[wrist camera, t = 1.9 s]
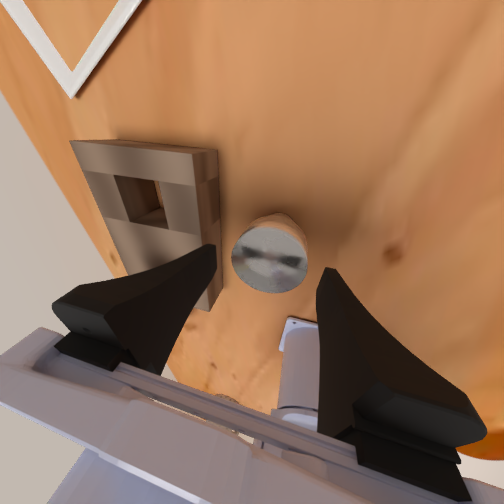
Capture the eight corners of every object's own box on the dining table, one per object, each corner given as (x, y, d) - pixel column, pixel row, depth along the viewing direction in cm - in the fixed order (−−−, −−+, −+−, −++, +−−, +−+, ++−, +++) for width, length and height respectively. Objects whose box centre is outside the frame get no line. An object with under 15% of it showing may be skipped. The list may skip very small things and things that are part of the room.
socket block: (217, 149, 15) (191, 153, 11) (222, 287, 24) (209, 312, 20) (116, 139, 16) (68, 140, 13) (157, 271, 25) (135, 291, 22)
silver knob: (314, 205, 15) (317, 239, 10) (300, 255, 18) (298, 300, 13) (254, 196, 16) (231, 223, 11) (251, 245, 19) (231, 284, 14)
